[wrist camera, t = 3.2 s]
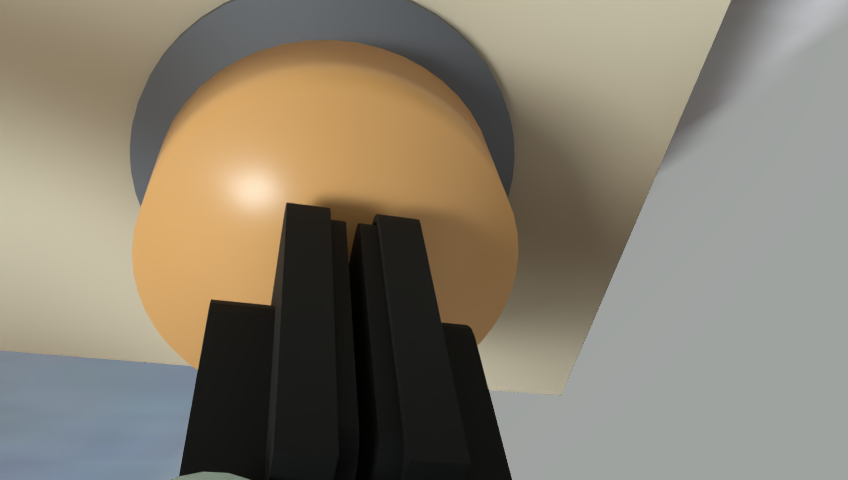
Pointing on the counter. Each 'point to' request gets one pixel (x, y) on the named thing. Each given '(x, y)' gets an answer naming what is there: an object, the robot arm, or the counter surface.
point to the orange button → (318, 183)
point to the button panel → (354, 22)
